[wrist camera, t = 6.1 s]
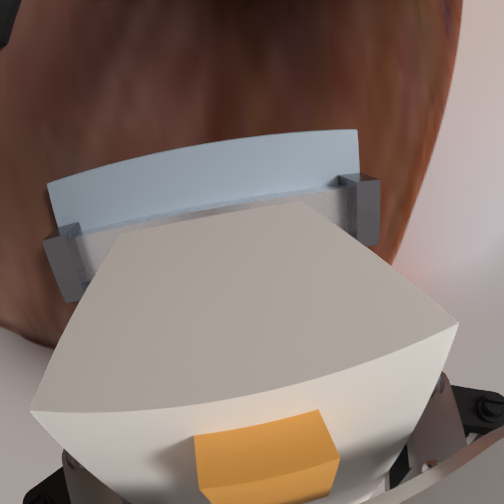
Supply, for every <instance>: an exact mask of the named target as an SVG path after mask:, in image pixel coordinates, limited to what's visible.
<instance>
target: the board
mask: <svg viewBox="0 0 504 504" xmlns="http://www.w3.org/2000/svg"><path fill="white" fill-rule="evenodd" d="M353 173H360V171H359V150H358V135H357V130H354V129H340V130H319V131H304V132H291V133H280V134H270V135H261V136H253V137H245V138H237V139H230V140H223V141H217V142H211V143H205V144H199V145H193V146H188V147H182V148H177V149H172V150H167V151H162V152H158V153H153V154H149V155H144V156H140V157H136V158H131V159H127V160H123V161H119V162H116V163H112V164H108V165H104V166H101V167H97V168H94V169H90V170H87V171H83V172H80V173H77V174H73V175H70V176H67V177H64V178H61V179H58V180H55V181H53V182H50V183H48V184H47V187H48V191H49V195H50V199H51V203H52V207H53V211H54V215H55V218H56V222H57V225H58V227H61V226H64V225H68V224H72V223H76V222H79V224H80V227H81V231H83V230H87V229H91V228H95V227H100V226H104V225H108V224H113V223H117V222H121V221H126V220H130V219H135V218H140V217H144V216H149V215H154V214H159V213H163V212H168V211H173V210H179V209H184V208H189V207H194V206H200V205H205V204H211V203H216V202H222V201H228V200H233V199H239V198H246V197H252V196H258V195H264V194H271V193H278V192H284V191H291V190H299V189H306V188H314V187H321V186H329V185H338V175H343V174H353Z"/></svg>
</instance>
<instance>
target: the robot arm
mask: <svg viewBox="0 0 504 504" xmlns="http://www.w3.org/2000/svg"><path fill="white" fill-rule="evenodd" d="M62 464H63V466H62V467H61V468H60V469H58V470H57V471H56V472H54V473H53V474H52V475H50V476H49V477H47V478H46V479H45V480H43V481H42V482H41V483H39V484H38V485H37V486H35V487H34V488H32V489H31V490H29V492H28V493H27V494H26V495H25V497H24V499H23V504H131V503H130V502H128V501H127V500H126V499H124V498H123V497H121V496H120V495H119V494H117V493H116V492H114V491H113V490H112V489H110V488H109V487H108V486H107V485H105V484H104V483H103V482H101V481H100V480H99V479H98V478H97V477H95V476H94V475H93V474H92V473H91V472H89V471H88V470H87V469H86V468H85V467H84V466H82V465H81V464H80V463H79V462H78V461H77V460H76V459H75V458H74V457H73V456H71V455H70V454H69V453H68V452H67V451H66V450H65V449H64V450H63V453H62ZM359 504H504V397H503V396H502V395H500V394H499V393H496V392H491V391H484V390H478V389H471V388H465V387H460V386H454V385H450V383H449V380H448V378H447V376H446V374H445V373H443V372H441V374H440V376H439V379H438V381H437V383H436V386H435V388H434V390H433V392H432V394H431V397H430V399H429V401H428V403H427V405H426V407H425V409H424V411H423V413H422V415H421V417H420V419H419V421H418V423H417V424H416V426H415V428H414V430H413V431H412V433H411V435H410V437H409V439H408V440H407V442H406V444H405V446H404V447H403V449H402V451H401V452H400V454H399V456H398V457H397V459H396V460H395V462H394V464H393V465H392V467H391V468H390V470H389V471H388V472H387V474H386V475H385V493H383V494H380V495H378V496H376V497H374V498H371V499H369V500H366V501H364V502H362V503H359Z"/></svg>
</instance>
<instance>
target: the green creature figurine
mask: <svg viewBox="0 0 504 504" xmlns="http://www.w3.org/2000/svg"><path fill="white" fill-rule="evenodd" d="M20 3H21V0H0V48H1V47H3V46H6V45H7V44H8V41H9V37H10V34H11V30H12V27H13V23H14V20H15V17H16V14H17V11H18V8H19V6H20Z"/></svg>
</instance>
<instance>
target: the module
mask: <svg viewBox="0 0 504 504" xmlns="http://www.w3.org/2000/svg"><path fill="white" fill-rule="evenodd" d="M458 325H459V322H458V321H457V320H455V319H454V318H453V317H452V316H451V315H450V314H449V313H447V312H446V311H445V310H444V309H443V308H442V307H440V306H439V305H438V304H437V303H436V302H435V301H433V300H432V299H431V298H430V297H429V296H427V295H426V294H425V293H424V292H422V291H421V290H420V289H419V288H418V287H417V286H415V285H414V284H413V283H411V282H410V281H409V280H408V279H407V278H405V277H404V276H403V275H402V274H400V273H399V272H398V271H397V270H395V269H394V268H393V267H391V266H390V265H389V264H388V263H386V262H385V261H384V260H382V259H381V258H380V257H379V256H377V255H376V254H375V253H373V252H372V251H371V250H369V249H368V248H367V247H365V246H364V245H363V244H361V243H360V242H359V241H357V240H356V239H355V238H353V237H352V236H351V235H349V234H348V233H346V232H345V231H344V230H342V229H341V228H340V227H338V226H337V225H335V224H334V223H333V222H331V221H330V220H328V219H327V218H325V217H324V216H323V215H321V214H320V213H318V212H317V211H315V210H314V209H313V208H311V207H310V206H308V205H307V204H305V203H304V202H302V201H298V202H291V203H285V204H278V205H272V206H266V207H260V208H254V209H248V210H242V211H236V212H230V213H225V214H219V215H214V216H208V217H203V218H197V219H192V220H187V221H182V222H176V223H171V224H166V225H161V226H156V227H152V228H147V229H142V230H137V231H132V232H128V233H123V234H121V235H120V236H119V238H118V239H117V241H116V242H115V244H114V245H113V247H112V248H111V250H110V251H109V253H108V255H107V256H106V258H105V259H104V261H103V263H102V264H101V266H100V267H99V269H98V271H97V272H96V274H95V276H94V277H93V279H92V281H91V283H90V284H89V286H88V288H87V289H86V291H85V293H84V295H83V296H82V298H81V300H80V302H79V304H78V305H77V307H76V309H75V311H74V313H73V315H72V317H71V318H70V320H69V322H68V324H67V326H66V328H65V330H64V332H63V334H62V336H61V338H60V340H59V342H58V344H57V346H56V348H55V350H54V353H53V355H52V357H51V359H50V361H49V363H48V365H47V368H46V370H45V372H44V375H43V377H42V379H41V381H40V384H39V386H38V389H37V391H36V394H35V396H34V399H33V401H32V404H31V407H30V409H29V411H30V412H31V414H32V415H33V416H34V417H35V418H36V419H37V420H38V422H40V424H41V425H42V426H43V427H44V428H45V429H46V430H47V432H48V433H49V434H50V435H51V436H52V437H53V438H54V439H55V440H56V441H57V442H58V443H59V444H60V445H61V446H62V447H63V448H64V449H65V450H66V451H67V452H68V453H69V454H70V455H71V456H73V457H74V458H75V459H76V460H77V461H78V462H79V463H80V464H81V465H82V466H84V467H85V468H86V469H87V470H88V471H89V472H91V473H92V474H93V475H94V476H95V477H97V478H98V479H99V480H100V481H101V482H103V483H104V484H105V485H107V486H108V487H109V488H110V489H112V490H113V491H114V492H116V493H117V494H119V495H120V496H121V497H123V498H124V499H126V500H127V501H128V502H130V503H131V504H359V503H362V502H364V501H366V500H368V499H369V498H370V496H371V495H372V494H373V492H374V491H375V490H376V488H377V487H378V486H379V484H380V483H381V481H382V480H383V478H384V477H385V475H386V474H387V472H388V471H389V470H390V468H391V467H392V465H393V464H394V462H395V460H396V459H397V457H398V456H399V454H400V452H401V451H402V449H403V447H404V446H405V444H406V442H407V440H408V439H409V437H410V435H411V433H412V431H413V430H414V428H415V426H416V424H417V423H418V421H419V419H420V417H421V415H422V413H423V411H424V409H425V407H426V405H427V403H428V401H429V399H430V397H431V394H432V392H433V390H434V388H435V386H436V383H437V381H438V379H439V376H440V374H441V372H442V369H443V367H444V364H445V362H446V359H447V356H448V354H449V351H450V348H451V346H452V343H453V340H454V337H455V334H456V331H457V328H458Z"/></svg>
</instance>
